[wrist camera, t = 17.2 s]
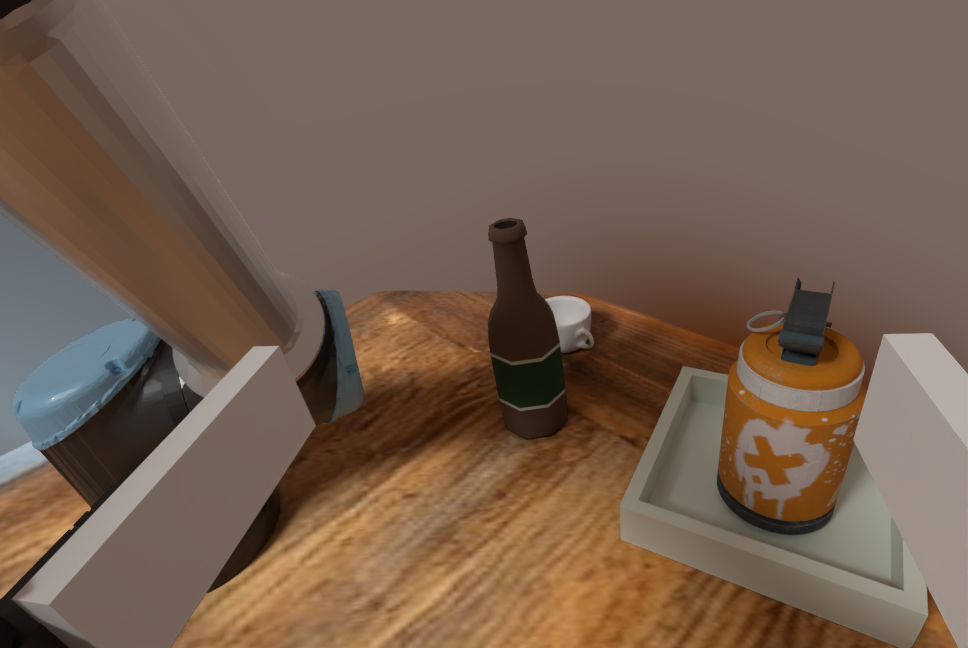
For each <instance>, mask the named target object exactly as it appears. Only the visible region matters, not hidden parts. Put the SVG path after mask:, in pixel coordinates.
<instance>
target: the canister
mask: <svg viewBox="0 0 968 648" xmlns="http://www.w3.org/2000/svg"><path fill="white" fill-rule="evenodd" d="M834 285H835V282H833V286H832V291H831V294H828V293H820V292H812V291H804V290H800V287H801V281H800V280H799V278H797V282H796V286H795V290H794V293H793V296H792V299H791V303H790V306H789V308H788V312H787V313H783V312H781V311H776V310H774V311H767V312H763V313H761V314H758V315H756V316H754V317H753V318H751V319H750V320H749V321H748V323H747V327H748V329H749V330H750V331H753V332H752V333H751V334H750V335H749V336H748V337H747V338H746V339H745V340H744V341H743V343H742V344H741V346H740V350H739V357H738V360H736V361H735V362H734V363H733V364H732V366H731V368H730V370H729V374H728V382H727V391H726V400H725V409H724V418H723V427H722V436H721V445H720V454H719V463H718V472H717V487H718V491H719V493H720V496H721V498H722V499H723V501H724V502H725V504H726V505H727V506H728V507H729V508H730V510H732V511H733V512H734V513H735V514H736V515H737V516H738V517H740V518H741V519H743V520H744V521H746V522H748V523H749V524H751V525H753V526H755V527H758V528H760V529H762V530H766V531H769V532H772V533H777V534H783V535H802V534H807V533H811V532H813V531H816V530H818V529H820V528H822V527H823V526H825V525H826V524H827V522H828V521H829V520H830V519H831V517H832V515H833V512H834V509H835V505H836V502H837V498H838V495H839V492H840V488H841V485H842V482H843V478H844V475H845V472H846V468H847V465H848V462H849V458H850V455H851V452H852V448H853V445H854V440H853V439H854V435H855V432H856V428H857V425H858V421H859V418H860V414H861V411H862V407H863V404H864V400H865V397H866V394H867V391H866V389H865V386H864V384H863V383H862V379H863V375H864V372H865V363H864V361H863V358H862V357H861V354H860V352H859V350H858V349H857V347H856V346H855V345H854V344H853V343H852V342H851V341H850V340H849V339H847V338H846V337H844V336H843V335H841V334H839V333H837V332H835V331H833V330H831V329H828V328H825V326H827V327H831V325H832V323H828V322H826V321H827V316H828V311H829V307H830V303H831V298H832V294H833V289H834ZM769 314H780V321H778V322H777V323H774V324H769V325H766V326H763V327H760V328H758V329H755V328H751V327H750V325H751V323H752V322H753V321H754V320H756V319H757V318H759V317H762V316H765V315H769Z"/></svg>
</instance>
